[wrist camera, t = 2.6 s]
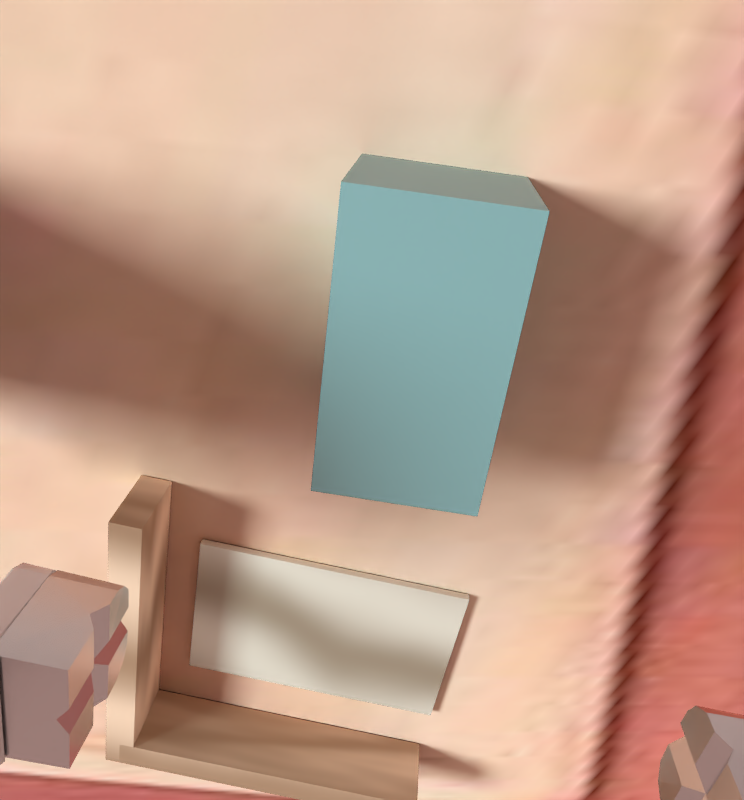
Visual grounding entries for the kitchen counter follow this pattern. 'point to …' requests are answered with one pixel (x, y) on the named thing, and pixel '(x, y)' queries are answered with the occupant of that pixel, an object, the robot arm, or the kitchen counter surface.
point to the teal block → (423, 329)
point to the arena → (272, 663)
